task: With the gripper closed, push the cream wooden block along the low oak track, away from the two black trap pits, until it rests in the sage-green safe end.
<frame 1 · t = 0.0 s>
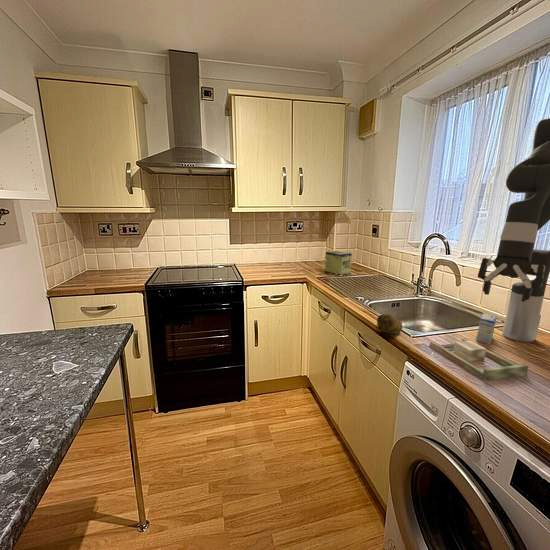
hand: (504, 297, 84), 22 cm above the countertop, tool pointing down, fingers open, 8 cm apart
cream block: (468, 356, 97), resting in trap track
protein box: (337, 274, 215), on the countertop
medicine box: (484, 339, 110), on the countertop
trap track: (473, 358, 95), on the countertop
potato: (389, 333, 114), on the countertop
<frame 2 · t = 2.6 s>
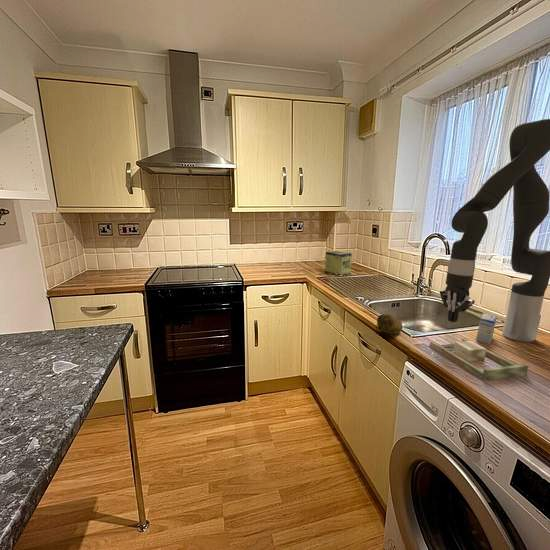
hand: (451, 321, 103), 9 cm above the countertop, tool pointing down, fingers closed
nothing on the countertop moved.
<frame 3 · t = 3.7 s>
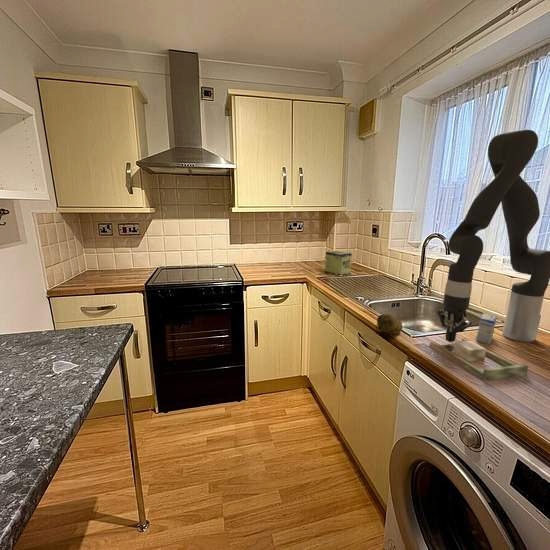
hand: (449, 340, 104), 2 cm above the countertop, tool pointing down, fingers closed
nothing on the countertop moved.
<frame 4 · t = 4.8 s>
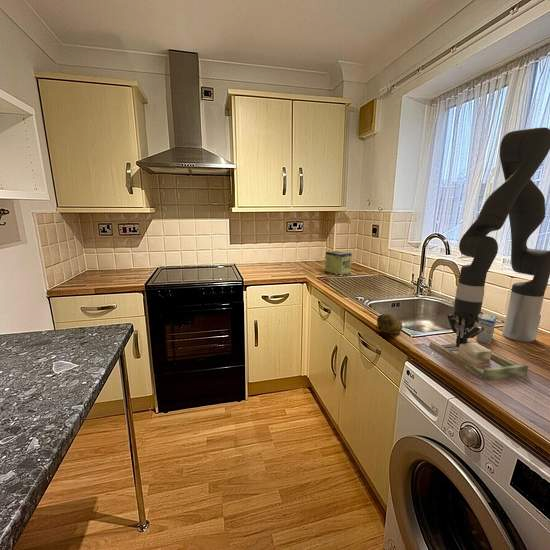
hand: (460, 346, 100), 2 cm above the countertop, tool pointing down, fingers closed
cream block: (473, 358, 96), resting in trap track, touching gripper
everything else where it was.
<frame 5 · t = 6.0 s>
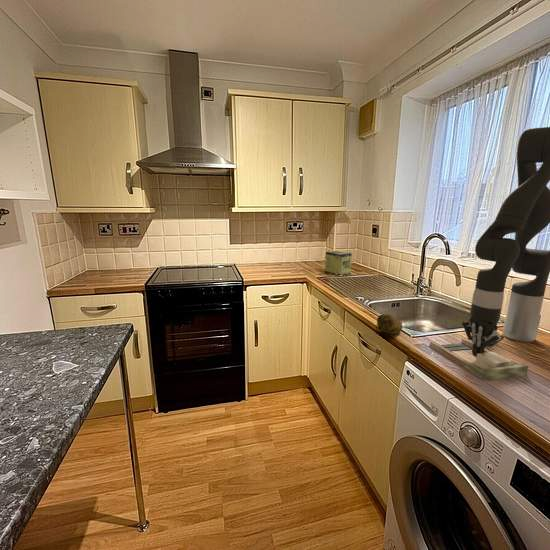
hand: (476, 356, 94), 2 cm above the countertop, tool pointing down, fingers closed
cream block: (491, 369, 90), resting in trap track, touching gripper
everything else where it was.
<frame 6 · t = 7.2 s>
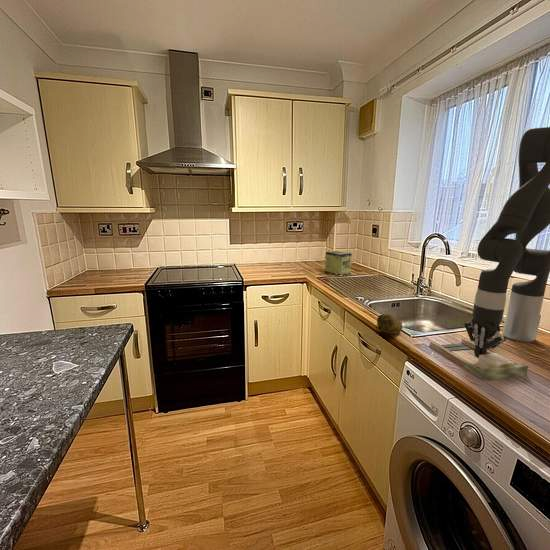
hand: (479, 357, 93), 1 cm above the countertop, tool pointing down, fingers closed
cream block: (494, 371, 89), resting in trap track
everything else where it was.
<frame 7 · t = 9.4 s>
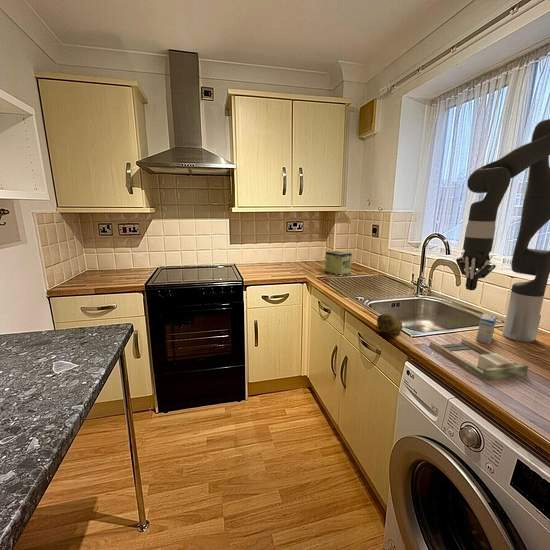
hand: (470, 289, 96), 21 cm above the countertop, tool pointing down, fingers closed
nothing on the countertop moved.
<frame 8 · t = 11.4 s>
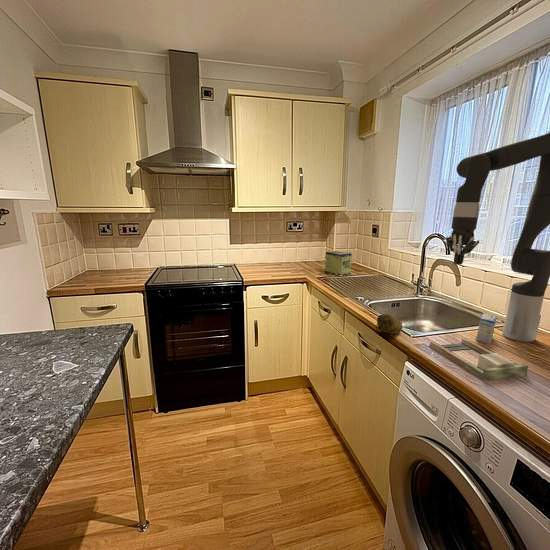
hand: (457, 264, 109), 27 cm above the countertop, tool pointing down, fingers closed
nothing on the countertop moved.
at the end: cream block 0.4 cm from the target spot, resting in trap track; cream block tilted 0°; cream block moved 9.0 cm from its start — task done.
